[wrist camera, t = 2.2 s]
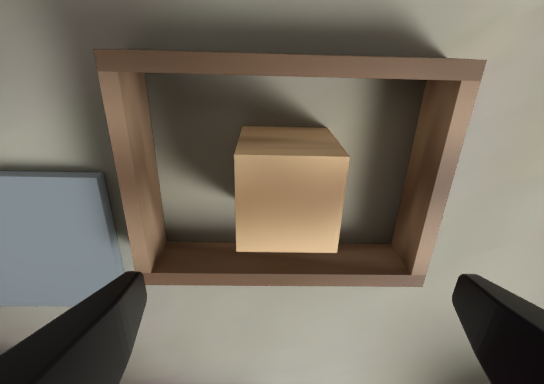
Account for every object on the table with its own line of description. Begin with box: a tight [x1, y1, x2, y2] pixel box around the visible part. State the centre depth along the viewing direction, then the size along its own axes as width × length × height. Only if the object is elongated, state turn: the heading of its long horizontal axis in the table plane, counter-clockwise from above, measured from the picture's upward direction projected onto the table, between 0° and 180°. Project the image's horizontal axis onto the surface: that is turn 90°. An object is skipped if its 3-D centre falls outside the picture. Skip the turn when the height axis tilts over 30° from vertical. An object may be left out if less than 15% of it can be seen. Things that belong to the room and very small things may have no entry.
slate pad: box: [0, 171, 124, 306], centre depth 19 cm, size 9×9×1 cm
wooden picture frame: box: [93, 49, 487, 287], centre depth 16 cm, size 12×16×3 cm
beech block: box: [234, 126, 350, 253], centre depth 15 cm, size 4×4×5 cm
